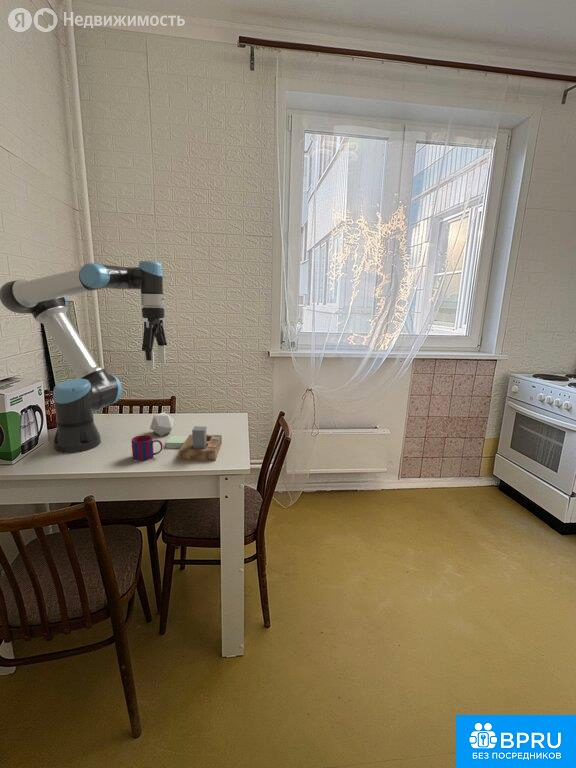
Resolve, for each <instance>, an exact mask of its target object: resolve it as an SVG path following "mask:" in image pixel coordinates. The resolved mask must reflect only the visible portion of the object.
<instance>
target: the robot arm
mask: <svg viewBox="0 0 576 768" xmlns="http://www.w3.org/2000/svg"><path fill="white" fill-rule="evenodd" d="M163 277H164V275H163V266H162V263H161V262H159V261H154V260H153V261H152V260H140V261H139V262H138V266H137V267H133V266H132V267H129V266H121V265H120V266H118V265H111V264H110V265H109V264H103V263H97V262H92V263H91V262H90V263H89V262H87V263H85V264H83V265H82V266H81V267H80V268H76V269H73V270H67V271H64V272H60V273H56V274H50V275H46V276H42V277H39V278H34V279H31V280H28V279H23V278H20V279H16V280H9V281H8V282H5V283H4V284H3V285H1V287H0V303H1V304H2V305H3V307H5V308H6V309H7V310H9V311H10V312H12V313H16V314H23V315H25V314H30V315H32V316H33V318H34V320H35V322H37V323H39V324H43V326H44V327H45V329H46V331H47V332H48V334H49V335H50V337H51V338H52V340H53V342H54V343H55V345H56V347H57V348H58V350H59V351H60V353H61V354H62V356H63V357H64V359H65V360H66V362H67V364H68V365H69V366H70V369H71V370H72V372H73V373H74V375H75V376H76V378H74V379H73V378H72V379H69V380H65V381H61V382H60V383H58V384H56V385H55V386H54V388H53V391H52V392H53V395H52V396H53V397H52V399H53V404H54V405H53V406H54V410H55V411H54V412H55V417H56V419H55V420H56V432H55V435H54V439H53V449H54V451H56V452H58V453H59V452H60V453H77V452H78V453H79V452H83V451H89V450H90V449H93V448H94V449H95V448H96V447H98V446H99V445H100V444H101V442H102V439H101V438H102V437H101V433H100V432H99V430H98V428H97V426H96V424H95V421H94V420H95V419H94V412H97V411H98V410H101V409H103V408H104V409H105V408H106V407H110V406H111V405H114V404H116V403H117V402H118V401H119V400H120V399H121V398H122V397H121V396H122V393H123V386H122V383H121V381H120V379H119V378H118V377H117V376H116V375H112V374H109V373H108V372H107V370H106V368H104V367H102V366H99V365H98V364H97V361H95V359H94V357H93V356H92V354H91V352H90V351H89V349H88V347H87V346H86V345H85V343H84V341H83V339H82V338H81V337H80V334H79V333H78V331H77V329H76V328H75V327H74V325H73V324H72V322H71V320H70V319H69V317H68V315H67V314H68V307H67V306H68V301H67V300H68V297H70V296H74V295H78V294H82V293H88V292H92V291H93V292H94V291H96V290H102V289H111V290H112V289H114V290H140V304H141V305H140V306H142V308H141V315H142V316H141V317H142V319H147V321H144V322H143V335H142V345H141V351H142V352H144V358H145V359H144V361H145V370H149V371H150V370H152V371H153V370H155V357H154V356H155V354H154V353H155V352H154V350H153V348H154V343H155V340H156V343H157V346H156V353H157V363H158V364H165V363H166V348H165V347H166V346H168V343H167V339H166V338H167V337H166V333H165V329H164V328H165V327H164V321H163V319H164V318H165V316H166V315H165V308H164V307H163V306H164V305H165V304H164V303H165V300H166V297H164V284H163V282H164V278H163Z"/></svg>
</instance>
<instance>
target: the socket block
mask: <svg viewBox="0 0 576 768" xmlns="http://www.w3.org/2000/svg"><path fill="white" fill-rule="evenodd" d="M206 435H207V448H206V449H193V439H192V434H189V435H187V436H188V438H187V439H186V441H185V442H184V444H183V446H182V447H181V448H179V461H216V460H217V458H218V455H219V452H220V450H221V447H222V444H223V436H222V434H206Z"/></svg>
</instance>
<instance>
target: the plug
mask: <svg viewBox="0 0 576 768" xmlns="http://www.w3.org/2000/svg"><path fill="white" fill-rule="evenodd" d="M191 435H192V439H193V449H206V448H207V435H208V434H207V426H201V425H199V426H194V427H193V429H192V431H191Z"/></svg>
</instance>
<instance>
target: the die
mask: <svg viewBox="0 0 576 768" xmlns="http://www.w3.org/2000/svg"><path fill="white" fill-rule="evenodd" d="M174 423H175V419H174V418H173V417H172V416H170V415H169V414H167V413H166V412H164V411H163V412H160V413H157V414H154V415H153V418H152V420H151V424H150V427H149V429H150V430H152V431H153V432H155V433H156V434H158V436H160V437H162V436H164V435H167V434H169V433H171V432H172V429H173V426H174Z"/></svg>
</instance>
